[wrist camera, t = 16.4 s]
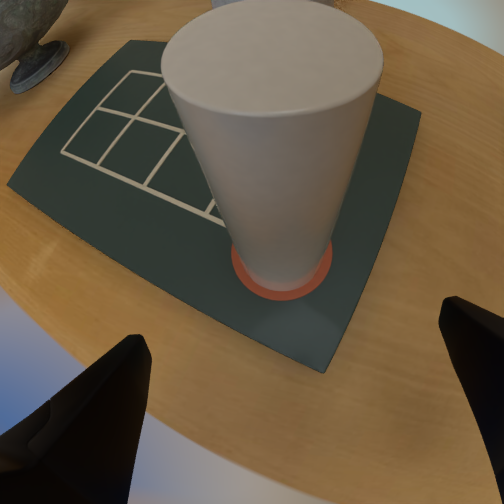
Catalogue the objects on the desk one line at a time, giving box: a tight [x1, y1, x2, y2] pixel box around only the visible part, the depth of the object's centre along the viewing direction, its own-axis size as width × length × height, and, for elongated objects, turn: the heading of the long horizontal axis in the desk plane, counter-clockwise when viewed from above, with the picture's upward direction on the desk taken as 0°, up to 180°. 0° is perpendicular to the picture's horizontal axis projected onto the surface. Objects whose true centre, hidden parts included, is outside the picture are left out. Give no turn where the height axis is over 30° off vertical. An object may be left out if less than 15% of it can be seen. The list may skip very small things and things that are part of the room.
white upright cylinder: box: [161, 0, 384, 291], centre depth 11 cm, size 5×5×13 cm
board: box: [7, 40, 421, 373], centre depth 22 cm, size 20×30×1 cm, turn 62°
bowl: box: [0, 0, 69, 94], centre depth 24 cm, size 20×19×15 cm
